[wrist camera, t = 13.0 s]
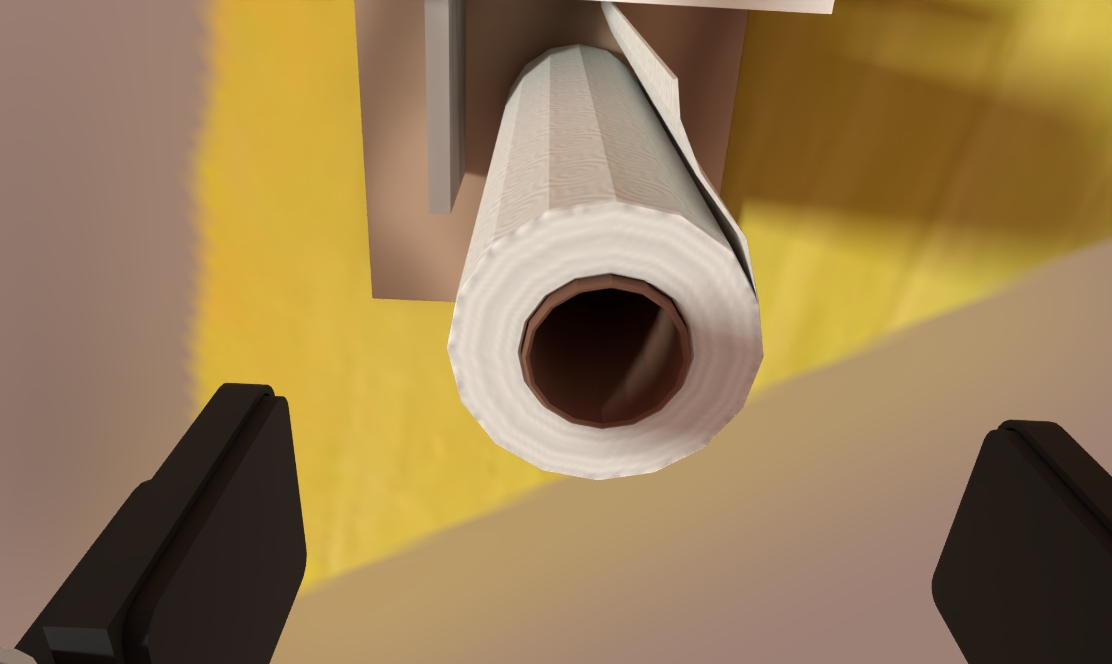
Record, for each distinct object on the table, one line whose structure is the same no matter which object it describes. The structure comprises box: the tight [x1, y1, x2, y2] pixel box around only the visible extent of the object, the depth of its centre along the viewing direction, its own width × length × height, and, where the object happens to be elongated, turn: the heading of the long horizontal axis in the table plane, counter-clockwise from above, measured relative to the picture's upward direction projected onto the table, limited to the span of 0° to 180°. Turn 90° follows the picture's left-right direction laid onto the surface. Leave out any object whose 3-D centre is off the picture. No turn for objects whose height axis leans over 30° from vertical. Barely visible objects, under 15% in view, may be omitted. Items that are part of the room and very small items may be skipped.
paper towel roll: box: [447, 1, 763, 480], centre depth 24 cm, size 7×6×21 cm
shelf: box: [354, 0, 834, 302], centre depth 30 cm, size 16×16×12 cm
